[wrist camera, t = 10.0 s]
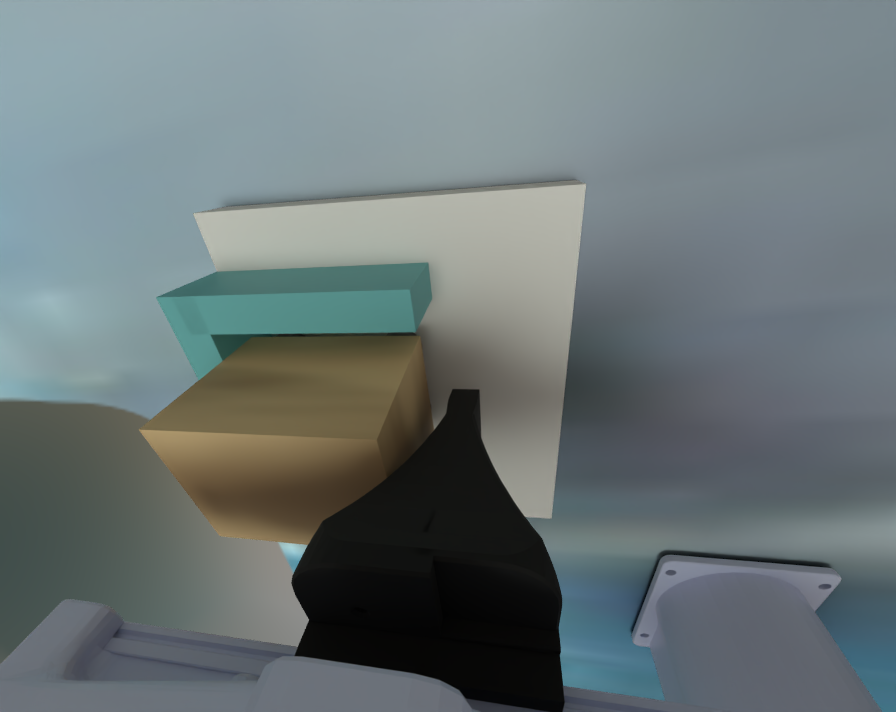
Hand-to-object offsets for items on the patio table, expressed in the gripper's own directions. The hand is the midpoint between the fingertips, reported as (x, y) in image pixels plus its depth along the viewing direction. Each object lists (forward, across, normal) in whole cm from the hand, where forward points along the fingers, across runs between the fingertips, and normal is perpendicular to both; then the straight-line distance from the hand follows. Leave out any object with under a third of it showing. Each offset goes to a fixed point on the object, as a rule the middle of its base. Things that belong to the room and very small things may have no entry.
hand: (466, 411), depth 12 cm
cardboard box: (+1, +4, -1) cm, 4 cm away
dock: (+2, +2, 0) cm, 4 cm away
